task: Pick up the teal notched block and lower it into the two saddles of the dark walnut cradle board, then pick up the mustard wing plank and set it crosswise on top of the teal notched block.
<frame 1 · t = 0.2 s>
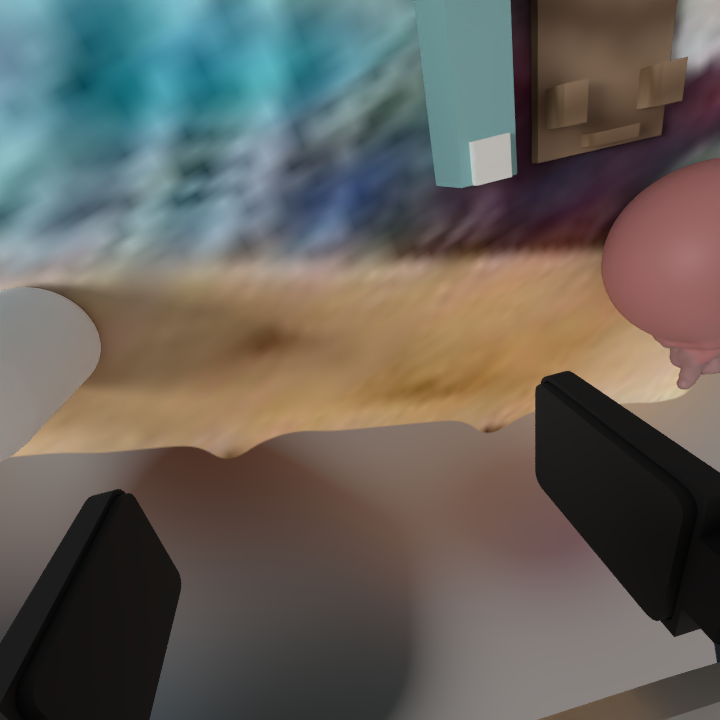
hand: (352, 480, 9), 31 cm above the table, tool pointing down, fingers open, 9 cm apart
jig: (599, 13, 33), on the table
balloon: (628, 263, 43), on the table
wine bottle: (46, 335, 36), on the table
teal notched block: (450, 89, 34), on the table
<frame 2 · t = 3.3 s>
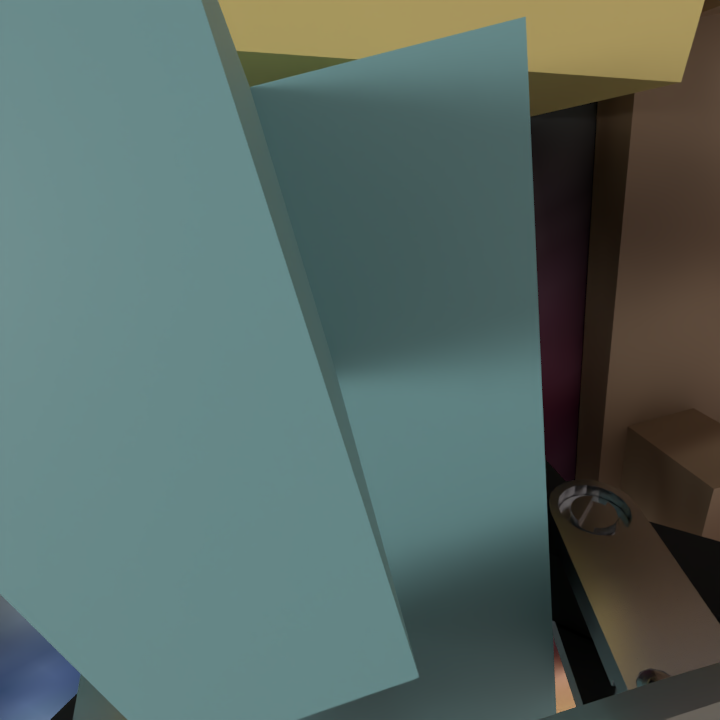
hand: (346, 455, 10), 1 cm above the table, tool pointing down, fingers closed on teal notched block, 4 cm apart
teal notched block: (342, 434, 11), on the table, touching gripper
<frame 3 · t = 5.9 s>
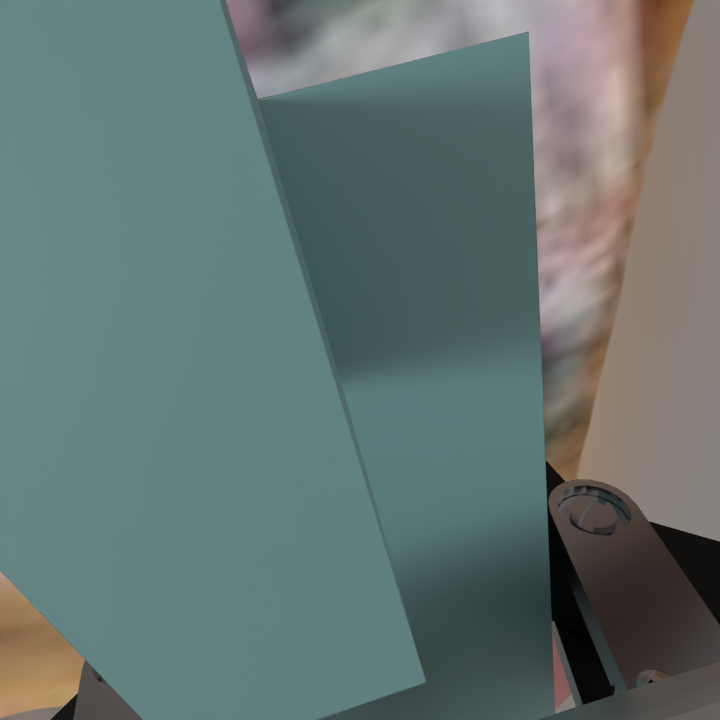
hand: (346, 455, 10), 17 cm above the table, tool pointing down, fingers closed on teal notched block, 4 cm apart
balloon: (425, 516, 36), on the table
teal notched block: (342, 437, 11), point 16 cm above the table, touching gripper
when the fingers open (3 cm above the table, at t = 8.6 s): teal notched block drops 2 cm, resting on jig.
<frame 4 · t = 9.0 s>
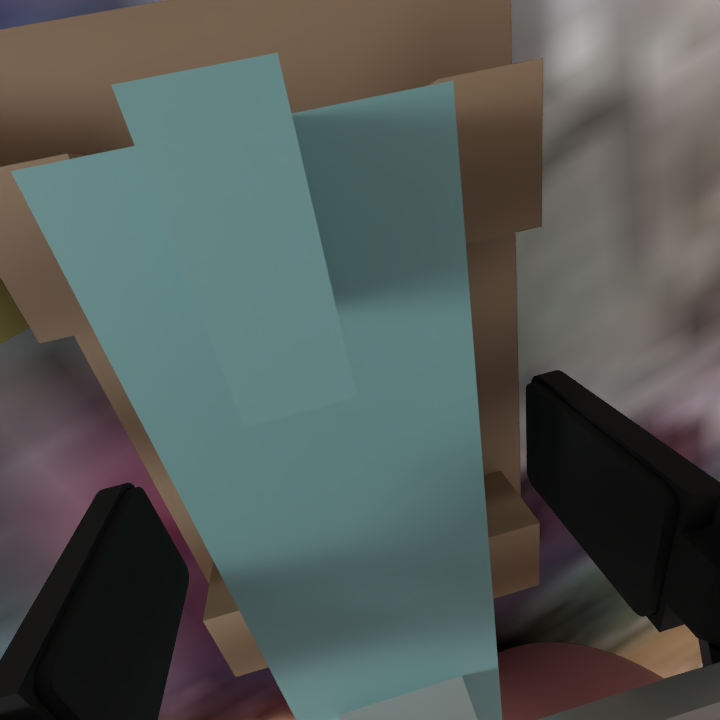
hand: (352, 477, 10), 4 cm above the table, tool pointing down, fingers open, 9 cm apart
jig: (331, 388, 13), on the table
balloon: (497, 688, 24), on the table
teal notched block: (330, 403, 13), point 1 cm above the table, touching jig
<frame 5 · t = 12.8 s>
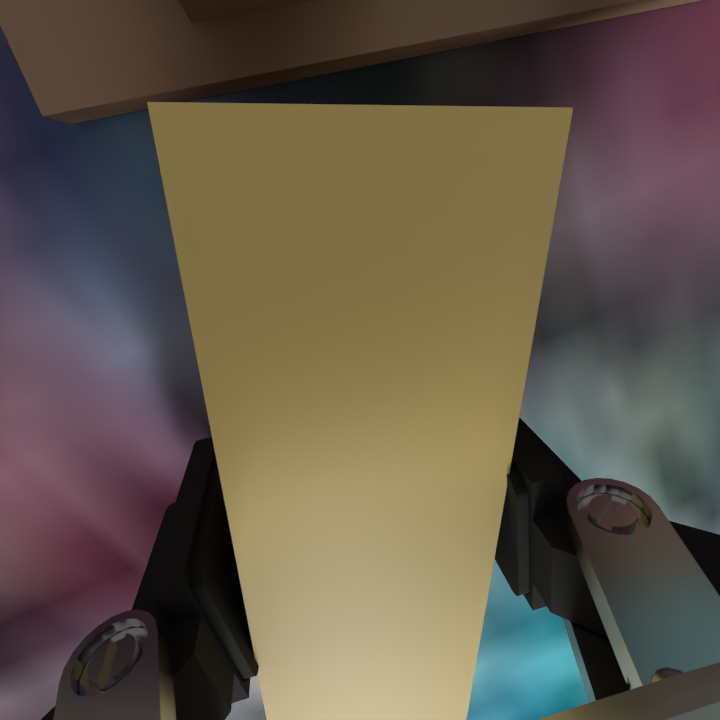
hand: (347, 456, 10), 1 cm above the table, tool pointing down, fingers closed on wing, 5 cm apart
wing: (343, 440, 11), on the table, touching gripper
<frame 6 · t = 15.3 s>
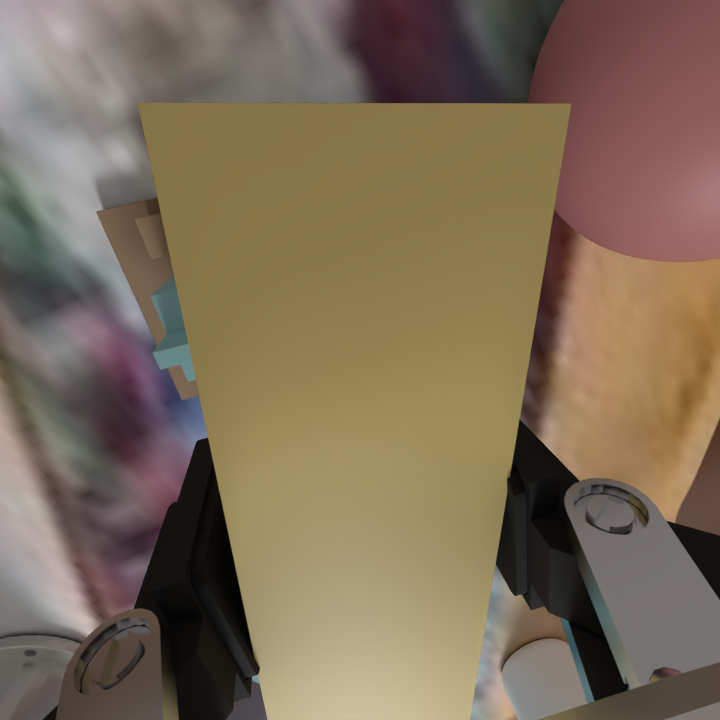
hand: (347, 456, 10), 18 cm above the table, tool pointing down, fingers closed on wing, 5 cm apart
jig: (305, 272, 26), on the table
balloon: (622, 113, 26), on the table
wine bottle: (533, 658, 50), on the table
wing: (344, 441, 11), point 18 cm above the table, touching gripper
teal notched block: (306, 278, 25), point 1 cm above the table, touching jig
when the fingers open (9 cm above the table, at t = 17.4 s): wing stays where it is, resting on teal notched block.
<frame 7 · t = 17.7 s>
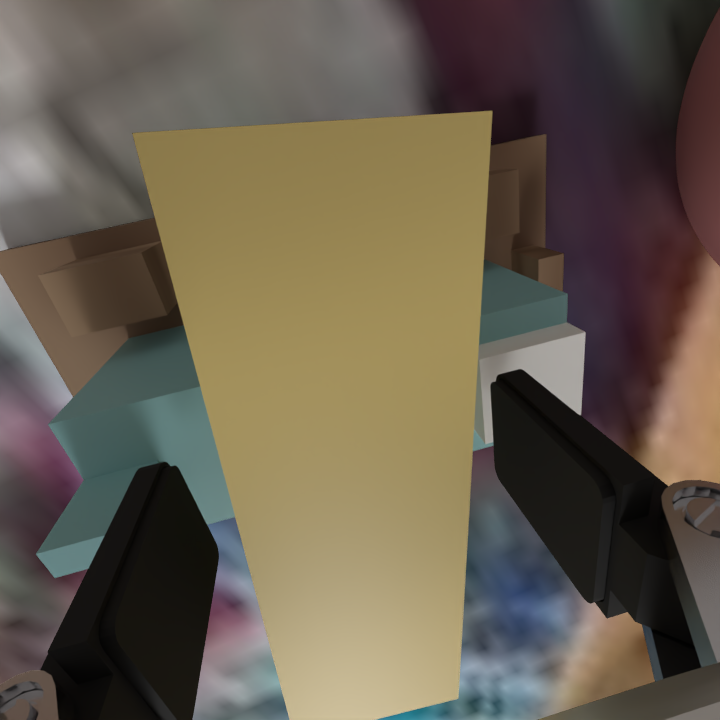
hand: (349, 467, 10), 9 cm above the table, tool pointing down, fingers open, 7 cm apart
jig: (319, 335, 18), on the table
wing: (336, 420, 12), point 7 cm above the table, touching teal notched block
teal notched block: (320, 346, 17), point 1 cm above the table, touching jig, wing
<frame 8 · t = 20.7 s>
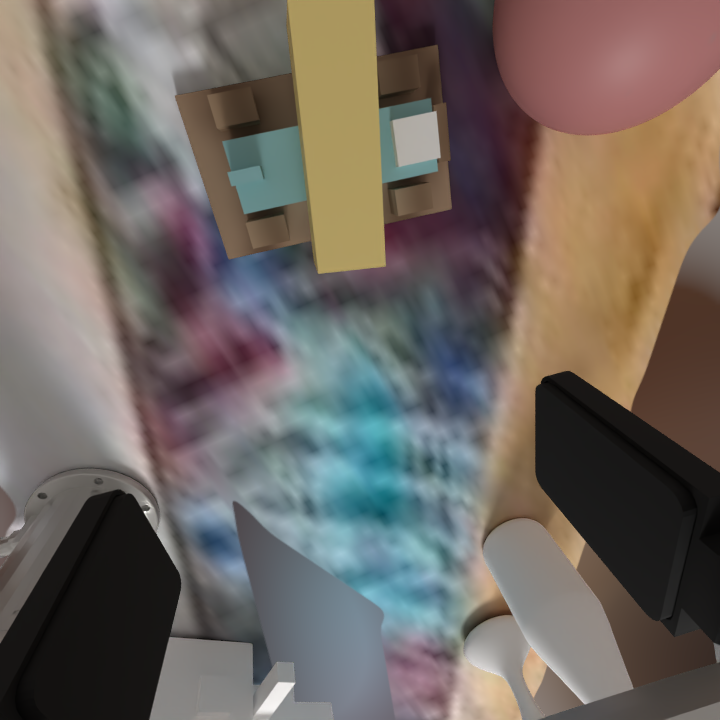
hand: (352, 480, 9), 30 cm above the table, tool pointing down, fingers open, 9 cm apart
jig: (326, 158, 34), on the table
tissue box: (229, 671, 59), on the table
balloon: (573, 36, 34), on the table
wine bottle: (511, 539, 58), on the table
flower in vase: (496, 629, 66), on the table
wing: (335, 154, 28), point 7 cm above the table, touching teal notched block
teal notched block: (327, 159, 33), point 1 cm above the table, touching jig, wing
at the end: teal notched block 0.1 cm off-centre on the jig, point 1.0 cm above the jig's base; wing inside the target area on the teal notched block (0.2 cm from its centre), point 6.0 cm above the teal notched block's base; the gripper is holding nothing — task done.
